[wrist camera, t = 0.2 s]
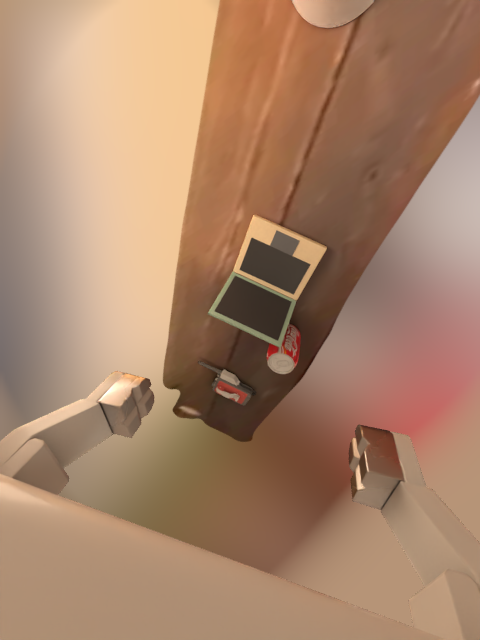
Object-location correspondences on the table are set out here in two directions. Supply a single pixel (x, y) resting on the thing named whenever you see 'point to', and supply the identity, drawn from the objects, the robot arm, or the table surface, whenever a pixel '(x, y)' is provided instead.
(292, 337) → the soda can
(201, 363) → the walkie-talkie
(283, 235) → the laptop base
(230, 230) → the table surface
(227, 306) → the cover
